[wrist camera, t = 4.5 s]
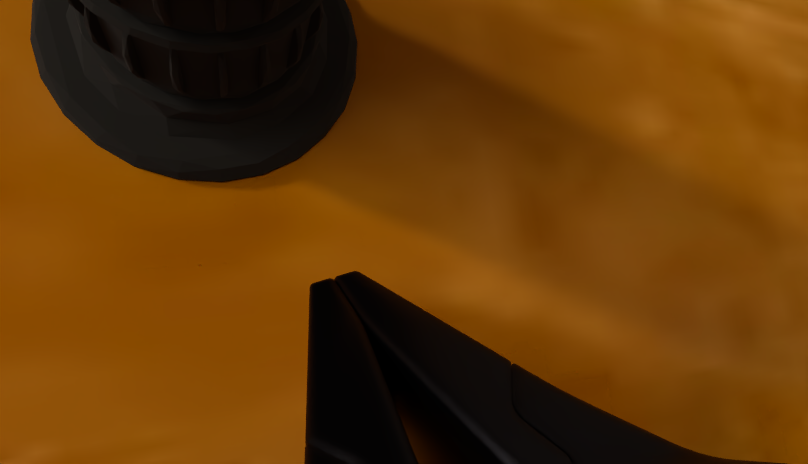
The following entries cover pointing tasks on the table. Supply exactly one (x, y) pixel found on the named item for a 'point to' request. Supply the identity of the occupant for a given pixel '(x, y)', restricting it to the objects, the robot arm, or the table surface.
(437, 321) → the robot arm
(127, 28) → the handle grip
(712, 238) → the table surface
